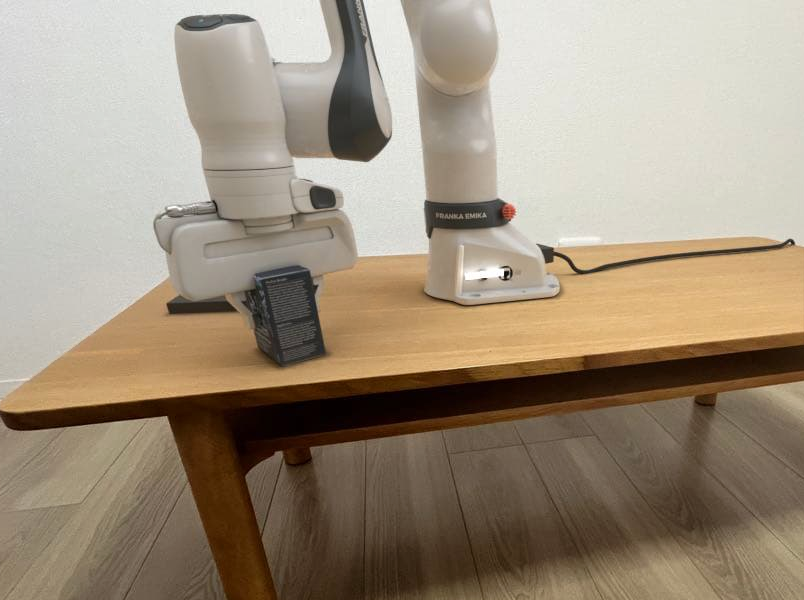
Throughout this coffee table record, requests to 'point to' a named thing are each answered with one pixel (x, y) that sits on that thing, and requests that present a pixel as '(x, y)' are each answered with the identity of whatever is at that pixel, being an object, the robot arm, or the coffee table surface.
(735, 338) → the coffee table surface
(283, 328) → the box
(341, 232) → the robot arm
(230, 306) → the scale
